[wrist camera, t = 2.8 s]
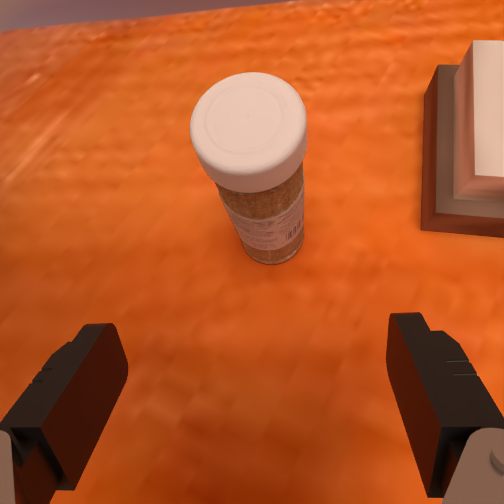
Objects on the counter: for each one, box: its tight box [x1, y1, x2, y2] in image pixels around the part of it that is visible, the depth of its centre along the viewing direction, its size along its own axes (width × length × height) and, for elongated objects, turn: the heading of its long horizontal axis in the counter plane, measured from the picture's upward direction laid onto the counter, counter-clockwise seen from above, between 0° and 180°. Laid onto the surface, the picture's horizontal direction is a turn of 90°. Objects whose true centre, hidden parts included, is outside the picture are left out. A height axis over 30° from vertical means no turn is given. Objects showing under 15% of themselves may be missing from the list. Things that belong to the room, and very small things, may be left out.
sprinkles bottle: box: [190, 72, 307, 265], centre depth 20 cm, size 5×5×14 cm
